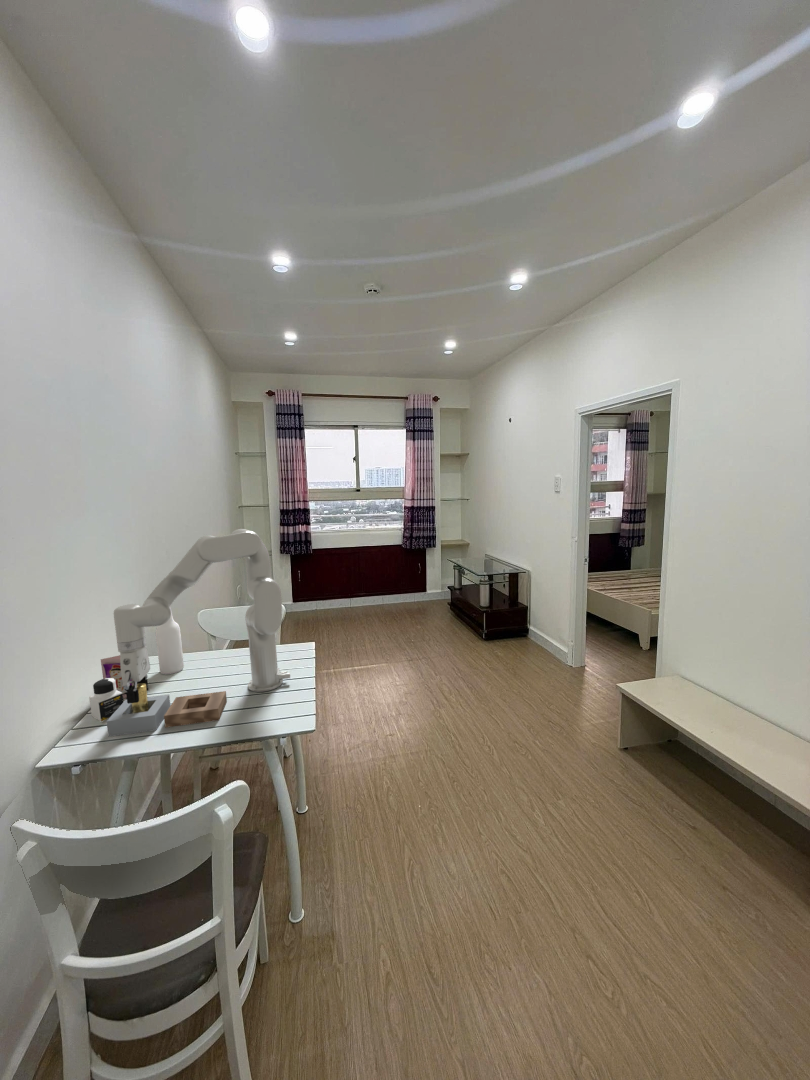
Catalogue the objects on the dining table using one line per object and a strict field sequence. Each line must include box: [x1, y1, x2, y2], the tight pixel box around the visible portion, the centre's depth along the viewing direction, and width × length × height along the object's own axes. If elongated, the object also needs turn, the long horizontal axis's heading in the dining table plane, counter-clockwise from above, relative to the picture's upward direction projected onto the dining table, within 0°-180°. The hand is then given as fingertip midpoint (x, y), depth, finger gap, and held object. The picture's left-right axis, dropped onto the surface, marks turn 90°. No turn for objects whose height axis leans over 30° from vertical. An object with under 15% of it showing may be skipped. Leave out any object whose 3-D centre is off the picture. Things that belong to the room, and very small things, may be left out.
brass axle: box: [131, 683, 149, 713], centre depth 135 cm, size 4×4×10 cm
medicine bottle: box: [88, 678, 124, 722], centre depth 140 cm, size 7×7×12 cm
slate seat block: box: [105, 693, 171, 737], centre depth 135 cm, size 13×13×5 cm
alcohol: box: [155, 604, 185, 675], centre depth 172 cm, size 9×9×30 cm
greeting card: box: [100, 654, 134, 699], centre depth 153 cm, size 11×7×15 cm, turn 90°
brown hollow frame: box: [163, 690, 228, 728], centre depth 139 cm, size 16×12×4 cm
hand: (138, 696), depth 135 cm, fingers open, 6 cm apart
